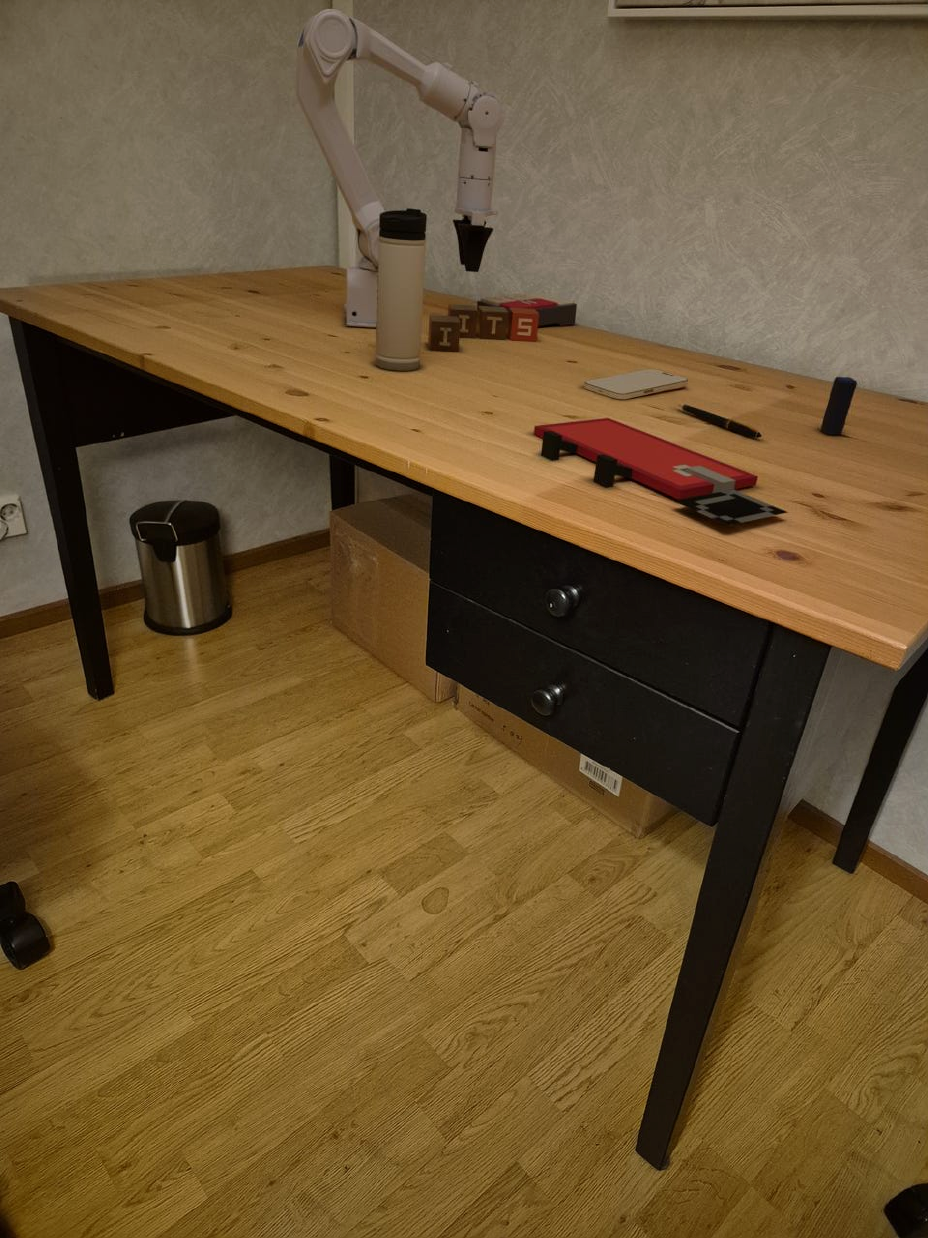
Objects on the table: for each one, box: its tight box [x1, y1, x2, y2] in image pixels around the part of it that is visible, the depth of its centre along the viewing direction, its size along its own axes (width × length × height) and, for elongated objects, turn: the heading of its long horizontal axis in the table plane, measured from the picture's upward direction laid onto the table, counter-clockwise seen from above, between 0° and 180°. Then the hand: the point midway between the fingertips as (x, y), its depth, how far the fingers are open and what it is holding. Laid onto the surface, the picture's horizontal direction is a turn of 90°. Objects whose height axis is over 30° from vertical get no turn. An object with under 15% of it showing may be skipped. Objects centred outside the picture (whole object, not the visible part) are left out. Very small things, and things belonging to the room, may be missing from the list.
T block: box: [476, 306, 508, 341], centre depth 143 cm, size 4×4×4 cm
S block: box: [506, 308, 539, 342], centre depth 144 cm, size 4×4×4 cm
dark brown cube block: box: [447, 303, 478, 339], centre depth 143 cm, size 4×4×4 cm
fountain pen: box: [676, 403, 763, 439], centre depth 107 cm, size 14×1×2 cm, turn 33°
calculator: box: [476, 292, 578, 327], centre depth 157 cm, size 11×4×15 cm
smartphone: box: [583, 368, 689, 400], centre depth 120 cm, size 7×1×15 cm
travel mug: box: [374, 207, 428, 372], centre depth 117 cm, size 6×7×20 cm
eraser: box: [820, 376, 858, 437], centre depth 106 cm, size 2×2×7 cm
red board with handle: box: [533, 417, 789, 526], centre depth 89 cm, size 30×3×15 cm
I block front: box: [427, 314, 461, 353], centre depth 133 cm, size 4×4×4 cm
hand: (469, 268), depth 146 cm, fingers open, 7 cm apart
